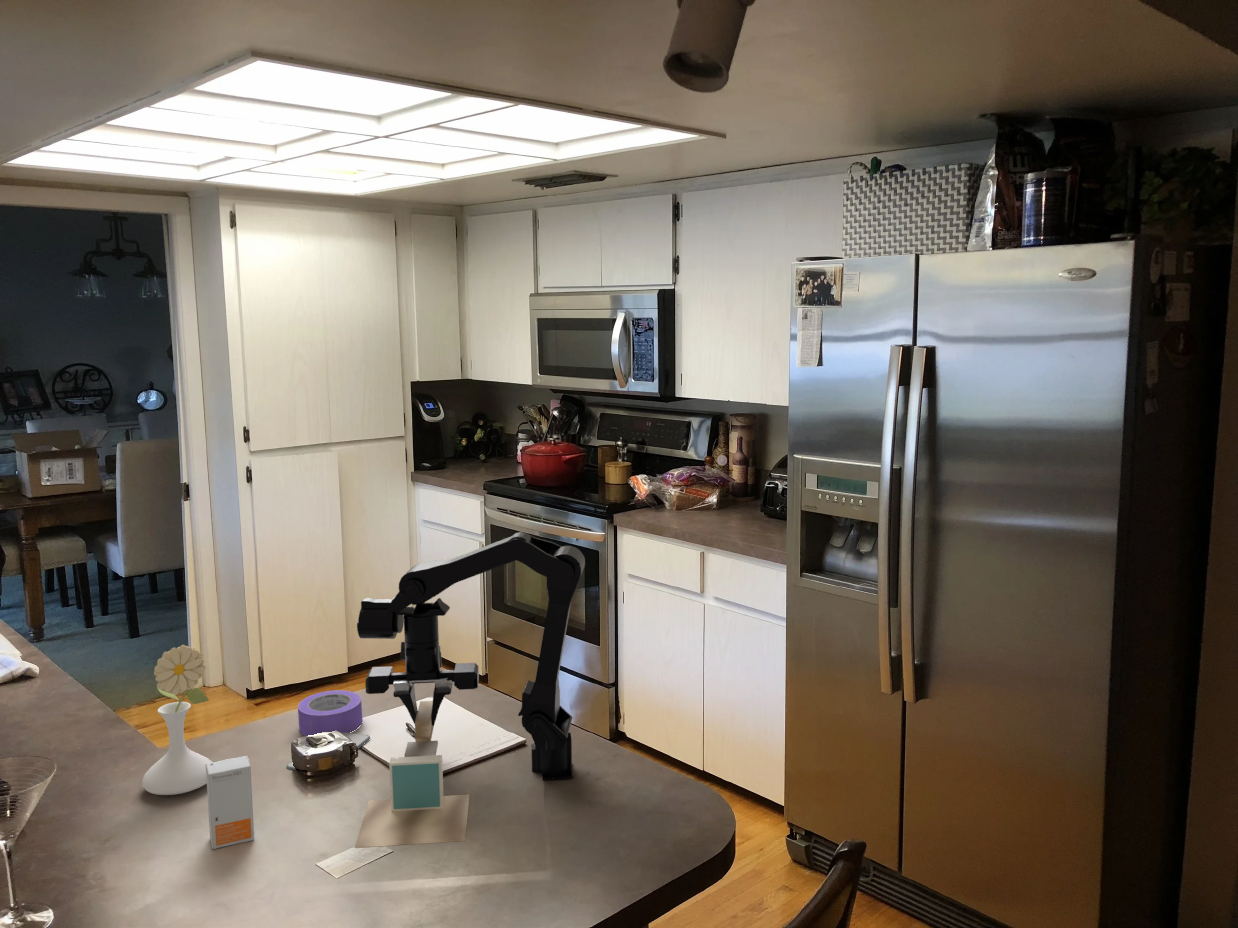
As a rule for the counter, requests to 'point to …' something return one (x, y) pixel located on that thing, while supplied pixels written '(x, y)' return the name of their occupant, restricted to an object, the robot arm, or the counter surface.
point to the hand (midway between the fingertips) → (425, 724)
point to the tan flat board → (413, 824)
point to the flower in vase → (178, 724)
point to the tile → (416, 783)
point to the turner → (423, 733)
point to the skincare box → (230, 801)
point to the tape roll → (330, 712)
